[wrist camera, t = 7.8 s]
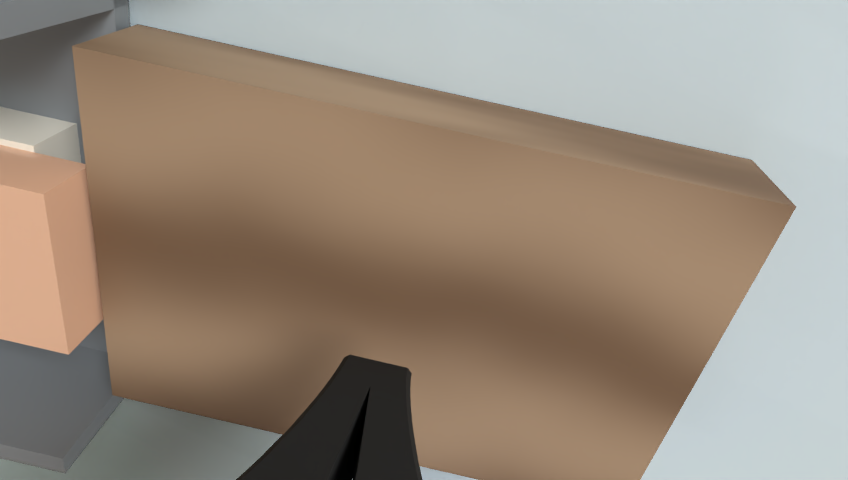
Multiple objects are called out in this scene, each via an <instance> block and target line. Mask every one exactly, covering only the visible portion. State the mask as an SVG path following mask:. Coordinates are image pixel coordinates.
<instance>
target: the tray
mask: <svg viewBox="0 0 848 480" xmlns="http://www.w3.org/2000/svg"><path fill="white" fill-rule="evenodd" d="M128 27H130V18H129V3H128V0H0V107H4V108H9V109H13V110H18V111H22V112H27V113H31V114H36V115H40V116H45V117H49V118H54V119H58V120H63V121H67V122H72V123H76V124H77V130H78V138H79V146H80V155H81V163H83V164H85V155H84V147H83V138H82V129H81V121H80V112H79V104H78V95H77V86H76V78H75V69H74V60H73V52H72V46H73V45H76V44H79V43H82V42H85V41H89V40H92V39H95V38H98V37H101V36H104V35H107V34H110V33H113V32H116V31H119V30H122V29H125V28H128ZM122 400H123V397H118V396H114V395H112V388H111V379H110V371H109V362H108V353H107V345H106V336H105V327H104V319H103V320H102V321H101V322H100V323H99V324H98V325H97V326H96V327H95V328H94V329H93V330H92V331H91V332H90V333H89V334H88V335H87V336H86V337H85V338H84V340H83V341H82V342H81V343H80V344H79V345H78V346H77V347H76V348H75V349H74V350H73V351H72V352H71V353H70V354H69V355H68V354H63V353H59V352H55V351H50V350H46V349H42V348H38V347H33V346H29V345H25V344H20V343H16V342H12V341H7V340H3V339H0V458H2V459H6V460H10V461H15V462H19V463H23V464H28V465H32V466H36V467H41V468H45V469H49V470H53V471H58V472H62V473H66V472H67V470H68V469H69V468H70V467H71V465H72V464H73V463H74V461H75V460H76V459H77V458H78V456H79V455H80V454H81V452H82V451H83V450H84V449H85V447H86V446H87V445H88V443H89V442H90V441H91V440H92V438H93V437H94V436H95V434H96V433H97V432H98V431H99V429H100V428H101V427H102V425H103V424H104V423H105V422H106V420H107V419H108V418H109V416H110V415H111V414H112V413H113V411H114V410H115V409H116V407H117V406H118V405H119V404H120V402H121V401H122Z"/></svg>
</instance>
